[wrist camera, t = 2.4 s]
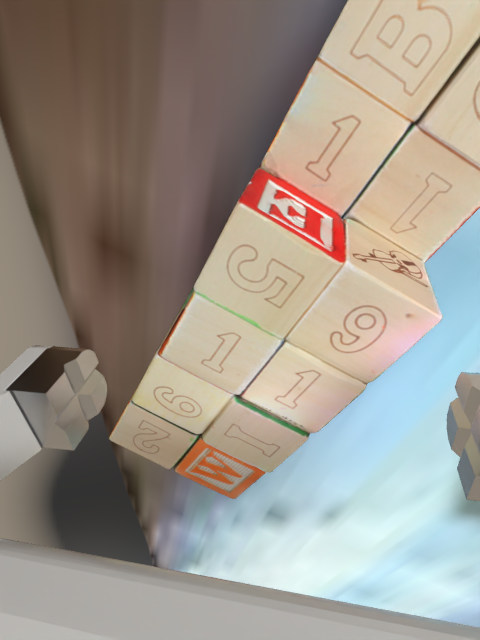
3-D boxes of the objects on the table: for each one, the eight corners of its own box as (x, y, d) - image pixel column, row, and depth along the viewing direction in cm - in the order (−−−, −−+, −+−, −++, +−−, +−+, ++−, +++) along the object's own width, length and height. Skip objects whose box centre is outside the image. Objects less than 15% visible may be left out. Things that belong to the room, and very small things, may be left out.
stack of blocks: (429, -140, 13) (687, -643, 4) (564, -30, 14) (1073, -194, 4) (190, 293, 26) (103, 444, 16) (269, 337, 27) (232, 507, 17)
